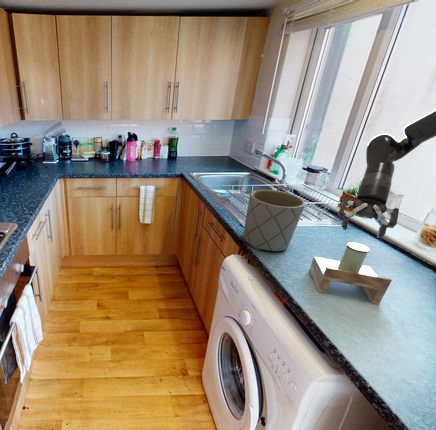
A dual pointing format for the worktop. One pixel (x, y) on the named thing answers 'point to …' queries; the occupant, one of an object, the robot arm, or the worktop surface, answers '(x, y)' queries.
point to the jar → (353, 257)
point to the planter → (272, 219)
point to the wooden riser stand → (348, 278)
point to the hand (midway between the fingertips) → (361, 233)
